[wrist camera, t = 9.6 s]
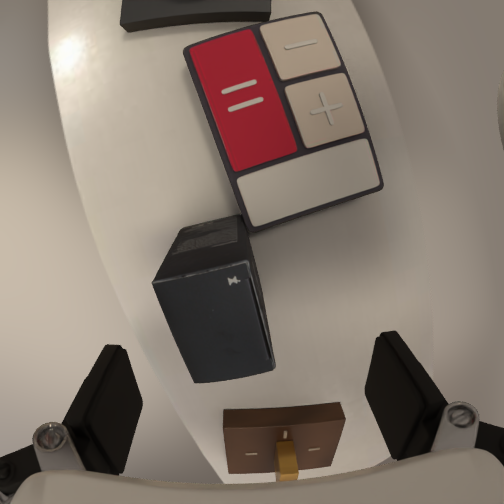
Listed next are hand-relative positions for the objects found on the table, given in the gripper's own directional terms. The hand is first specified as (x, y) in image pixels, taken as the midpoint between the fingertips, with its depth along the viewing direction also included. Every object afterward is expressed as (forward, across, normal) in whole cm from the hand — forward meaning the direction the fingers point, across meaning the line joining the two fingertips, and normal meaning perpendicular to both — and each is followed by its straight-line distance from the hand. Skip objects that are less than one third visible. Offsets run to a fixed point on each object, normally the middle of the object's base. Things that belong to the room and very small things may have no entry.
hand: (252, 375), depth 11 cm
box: (+17, +2, +2) cm, 18 cm away
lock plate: (+17, -3, +26) cm, 32 cm away
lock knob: (+14, -3, +26) cm, 30 cm away
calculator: (+17, -3, -10) cm, 20 cm away
